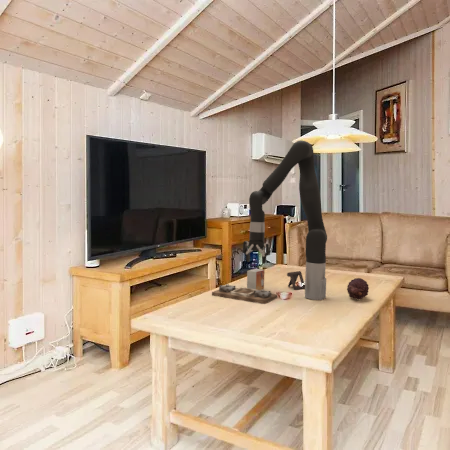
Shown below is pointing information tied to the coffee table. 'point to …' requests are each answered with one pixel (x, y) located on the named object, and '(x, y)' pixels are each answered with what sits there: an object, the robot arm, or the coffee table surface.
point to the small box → (255, 279)
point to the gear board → (245, 294)
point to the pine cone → (358, 288)
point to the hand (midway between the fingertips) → (255, 262)
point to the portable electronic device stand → (293, 279)
